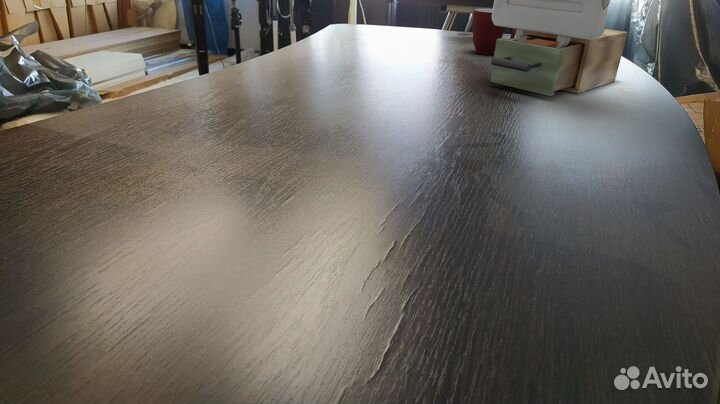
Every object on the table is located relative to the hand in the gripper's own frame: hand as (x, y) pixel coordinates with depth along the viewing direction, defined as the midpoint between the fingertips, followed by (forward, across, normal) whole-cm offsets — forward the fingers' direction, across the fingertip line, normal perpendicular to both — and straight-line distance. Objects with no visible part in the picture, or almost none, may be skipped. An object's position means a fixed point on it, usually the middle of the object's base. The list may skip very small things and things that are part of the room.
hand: (538, 58), depth 91 cm
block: (+2, 0, 0) cm, 2 cm away
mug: (+6, +25, -22) cm, 34 cm away
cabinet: (+6, 0, -12) cm, 14 cm away
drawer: (+5, 0, 0) cm, 5 cm away
